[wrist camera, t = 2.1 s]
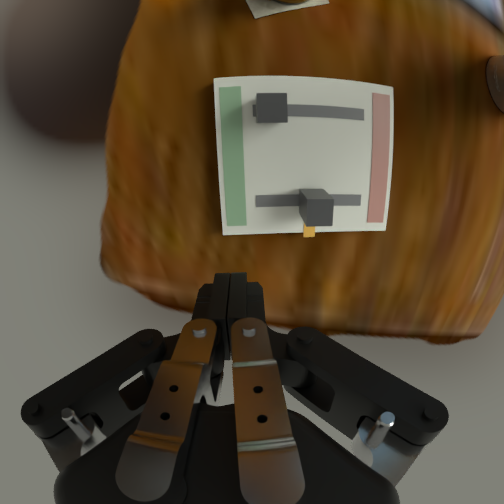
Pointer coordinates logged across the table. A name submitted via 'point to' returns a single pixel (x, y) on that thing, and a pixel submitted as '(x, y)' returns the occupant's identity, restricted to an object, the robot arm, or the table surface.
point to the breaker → (271, 108)
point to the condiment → (279, 6)
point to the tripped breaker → (316, 207)
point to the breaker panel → (303, 153)
